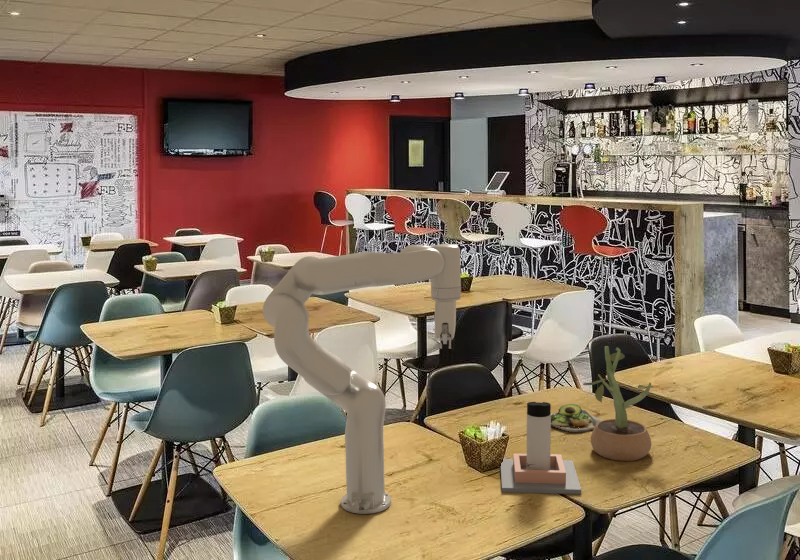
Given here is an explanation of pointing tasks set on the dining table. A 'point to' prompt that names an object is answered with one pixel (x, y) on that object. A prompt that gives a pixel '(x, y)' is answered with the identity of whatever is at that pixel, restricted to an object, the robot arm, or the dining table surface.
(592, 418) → the salad plate
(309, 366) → the robot arm
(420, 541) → the dining table surface
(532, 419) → the travel mug
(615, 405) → the potted plant
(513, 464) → the collar plate
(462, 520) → the dining table surface
